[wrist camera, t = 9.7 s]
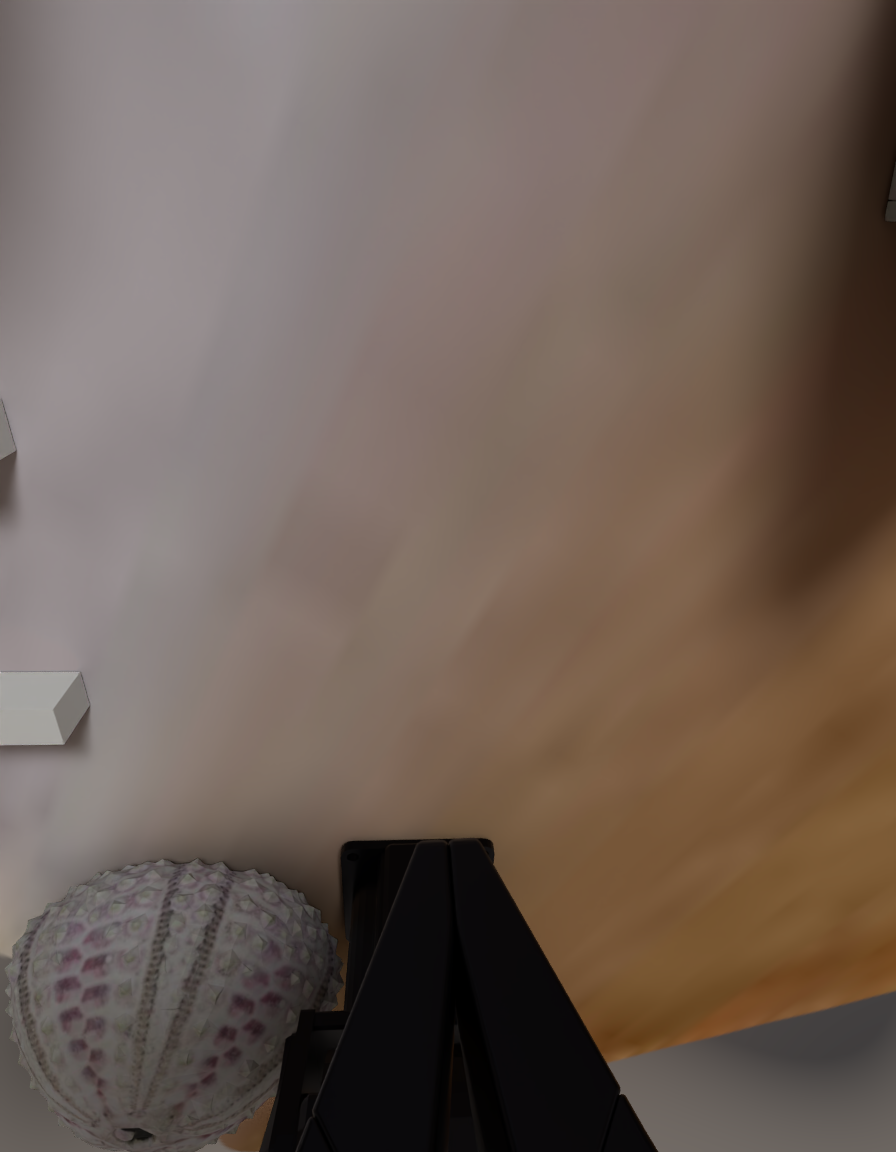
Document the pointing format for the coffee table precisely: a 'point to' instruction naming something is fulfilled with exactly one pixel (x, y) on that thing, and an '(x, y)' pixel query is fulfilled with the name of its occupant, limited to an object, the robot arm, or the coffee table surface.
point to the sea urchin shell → (166, 1000)
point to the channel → (37, 684)
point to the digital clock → (894, 207)
